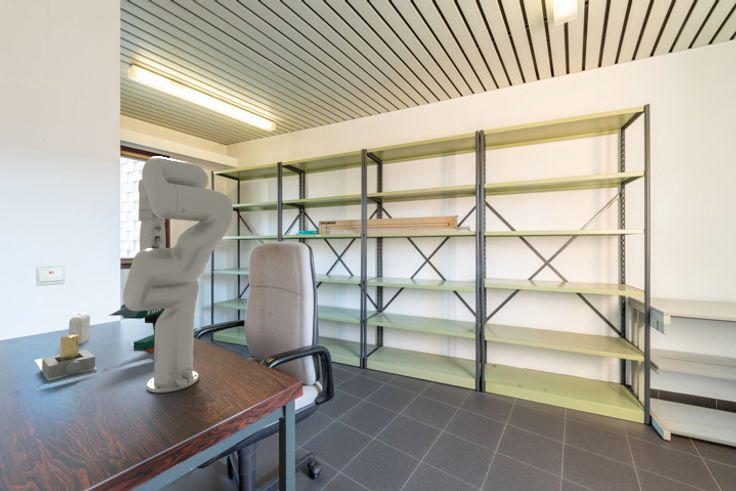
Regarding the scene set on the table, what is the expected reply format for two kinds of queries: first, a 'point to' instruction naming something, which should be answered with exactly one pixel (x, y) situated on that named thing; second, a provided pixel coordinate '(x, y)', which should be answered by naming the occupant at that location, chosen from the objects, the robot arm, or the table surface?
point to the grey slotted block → (66, 366)
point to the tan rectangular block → (69, 347)
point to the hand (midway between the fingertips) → (150, 266)
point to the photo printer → (80, 326)
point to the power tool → (150, 317)
